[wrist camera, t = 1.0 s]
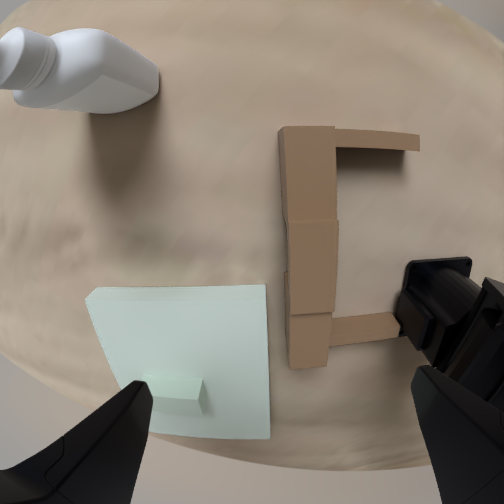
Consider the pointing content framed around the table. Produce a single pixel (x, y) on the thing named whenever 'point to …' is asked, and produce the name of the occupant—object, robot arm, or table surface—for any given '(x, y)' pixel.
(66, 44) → the eye dropper bottle
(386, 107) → the table surface
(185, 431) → the stand
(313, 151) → the brown c-shaped bracket
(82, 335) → the table surface
